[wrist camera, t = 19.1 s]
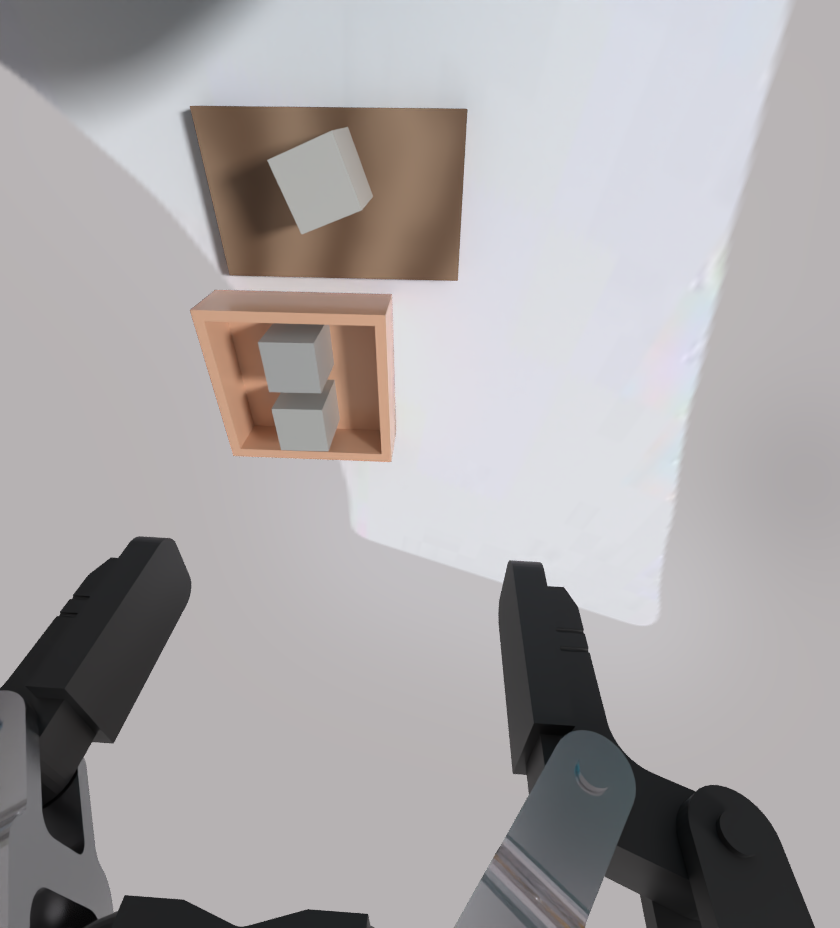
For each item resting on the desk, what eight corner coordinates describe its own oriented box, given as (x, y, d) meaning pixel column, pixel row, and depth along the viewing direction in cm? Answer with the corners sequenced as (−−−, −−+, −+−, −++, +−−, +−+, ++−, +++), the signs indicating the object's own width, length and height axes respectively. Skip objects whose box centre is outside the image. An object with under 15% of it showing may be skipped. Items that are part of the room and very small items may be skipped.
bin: (250, 427, 45) (233, 455, 41) (215, 289, 37) (189, 309, 33) (396, 433, 44) (391, 461, 40) (391, 294, 36) (385, 315, 32)
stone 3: (288, 378, 40) (271, 408, 36) (334, 379, 40) (322, 410, 36) (296, 418, 43) (281, 450, 39) (339, 419, 42) (328, 451, 39)
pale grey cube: (320, 218, 32) (301, 234, 28) (291, 152, 30) (267, 160, 26) (373, 196, 31) (361, 210, 27) (347, 126, 29) (331, 130, 25)
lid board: (235, 270, 36) (229, 275, 35) (198, 105, 29) (189, 105, 28) (457, 275, 35) (457, 280, 34) (466, 108, 29) (467, 109, 28)
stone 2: (278, 316, 37) (257, 342, 33) (328, 317, 37) (313, 343, 33) (287, 363, 39) (269, 392, 35) (334, 364, 39) (321, 393, 35)
